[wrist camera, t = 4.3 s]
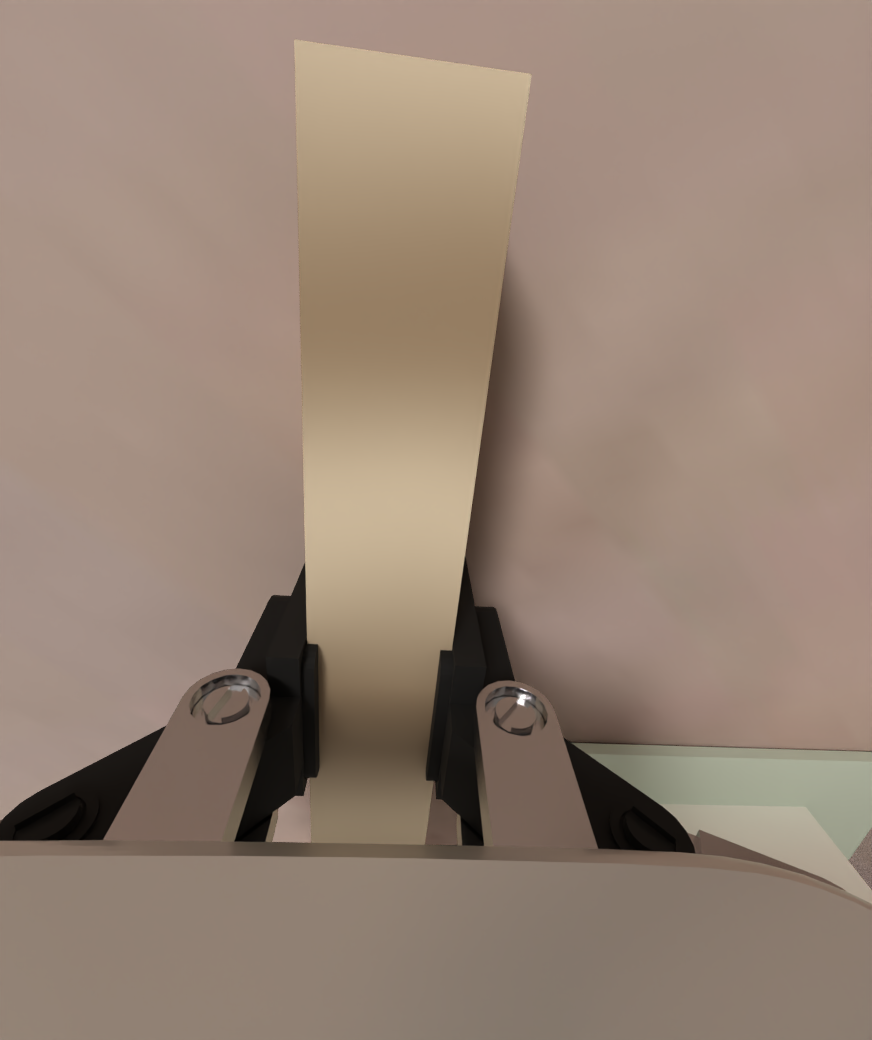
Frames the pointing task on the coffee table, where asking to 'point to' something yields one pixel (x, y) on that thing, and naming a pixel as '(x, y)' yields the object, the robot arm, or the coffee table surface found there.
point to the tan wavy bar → (393, 397)
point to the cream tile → (776, 838)
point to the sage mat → (753, 781)
